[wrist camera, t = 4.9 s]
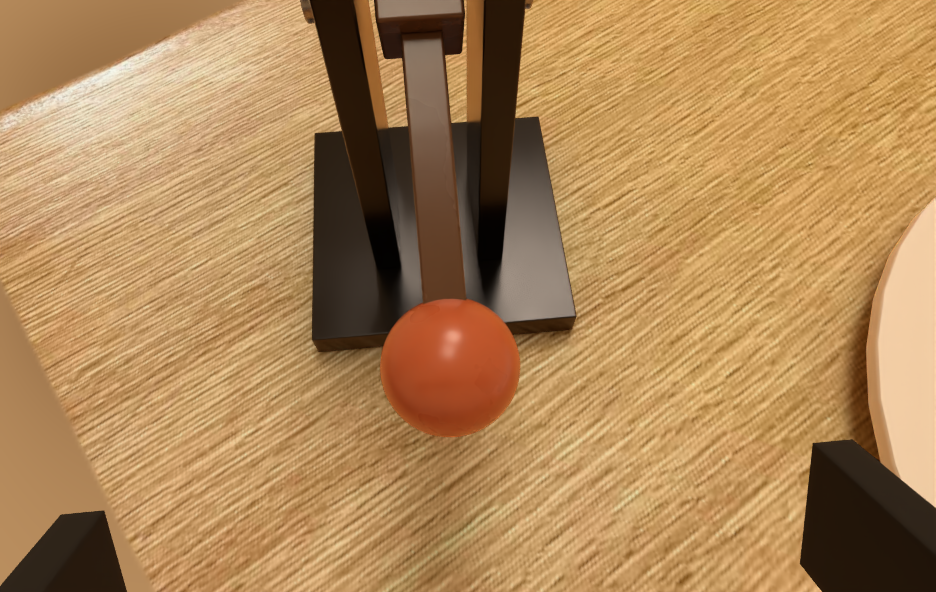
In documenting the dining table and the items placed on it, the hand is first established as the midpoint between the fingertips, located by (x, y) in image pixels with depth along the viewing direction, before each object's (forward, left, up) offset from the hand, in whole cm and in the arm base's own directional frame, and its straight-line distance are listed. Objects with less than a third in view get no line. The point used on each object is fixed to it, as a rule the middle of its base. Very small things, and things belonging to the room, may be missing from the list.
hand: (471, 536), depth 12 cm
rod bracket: (0, +14, -11) cm, 17 cm away
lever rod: (0, +10, -3) cm, 10 cm away
